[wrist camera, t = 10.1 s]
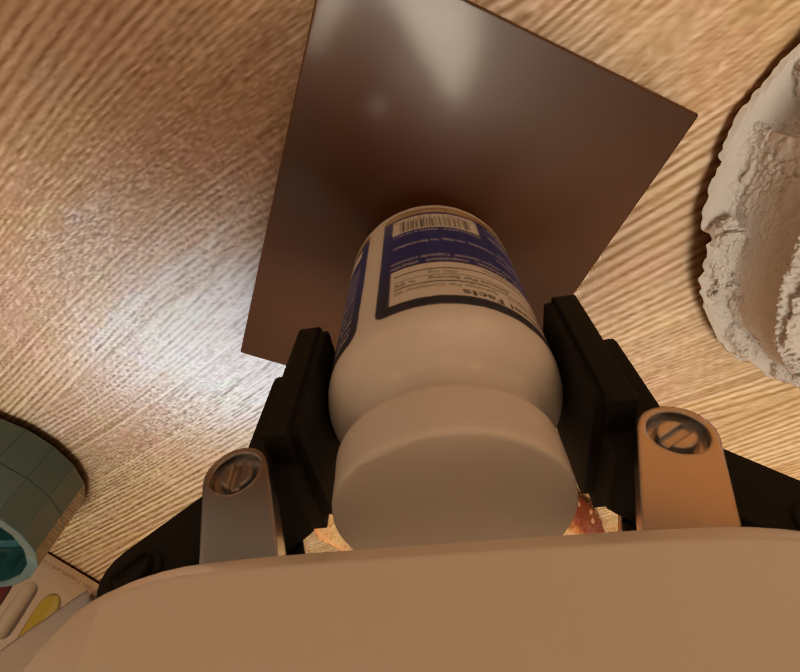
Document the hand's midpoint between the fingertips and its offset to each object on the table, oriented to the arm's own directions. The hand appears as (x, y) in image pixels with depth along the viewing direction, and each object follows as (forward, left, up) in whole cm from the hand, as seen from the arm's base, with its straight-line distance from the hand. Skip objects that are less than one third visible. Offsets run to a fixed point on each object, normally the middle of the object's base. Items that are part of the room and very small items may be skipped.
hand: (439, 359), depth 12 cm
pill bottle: (0, 0, -5) cm, 5 cm away
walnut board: (0, 0, -8) cm, 8 cm away
